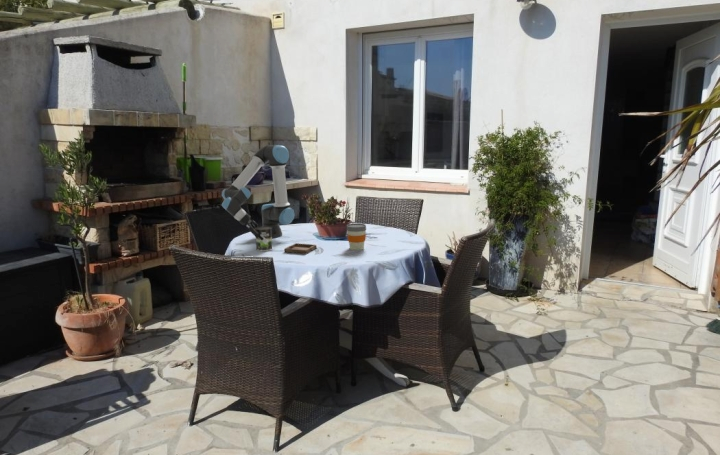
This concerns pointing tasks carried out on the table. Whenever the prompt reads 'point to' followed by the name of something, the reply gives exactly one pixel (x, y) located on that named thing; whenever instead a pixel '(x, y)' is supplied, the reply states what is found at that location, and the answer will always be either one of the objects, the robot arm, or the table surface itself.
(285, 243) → the table surface
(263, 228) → the coffee can
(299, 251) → the wooden tray
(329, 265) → the table surface
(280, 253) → the table surface
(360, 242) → the reusable coffee cup
